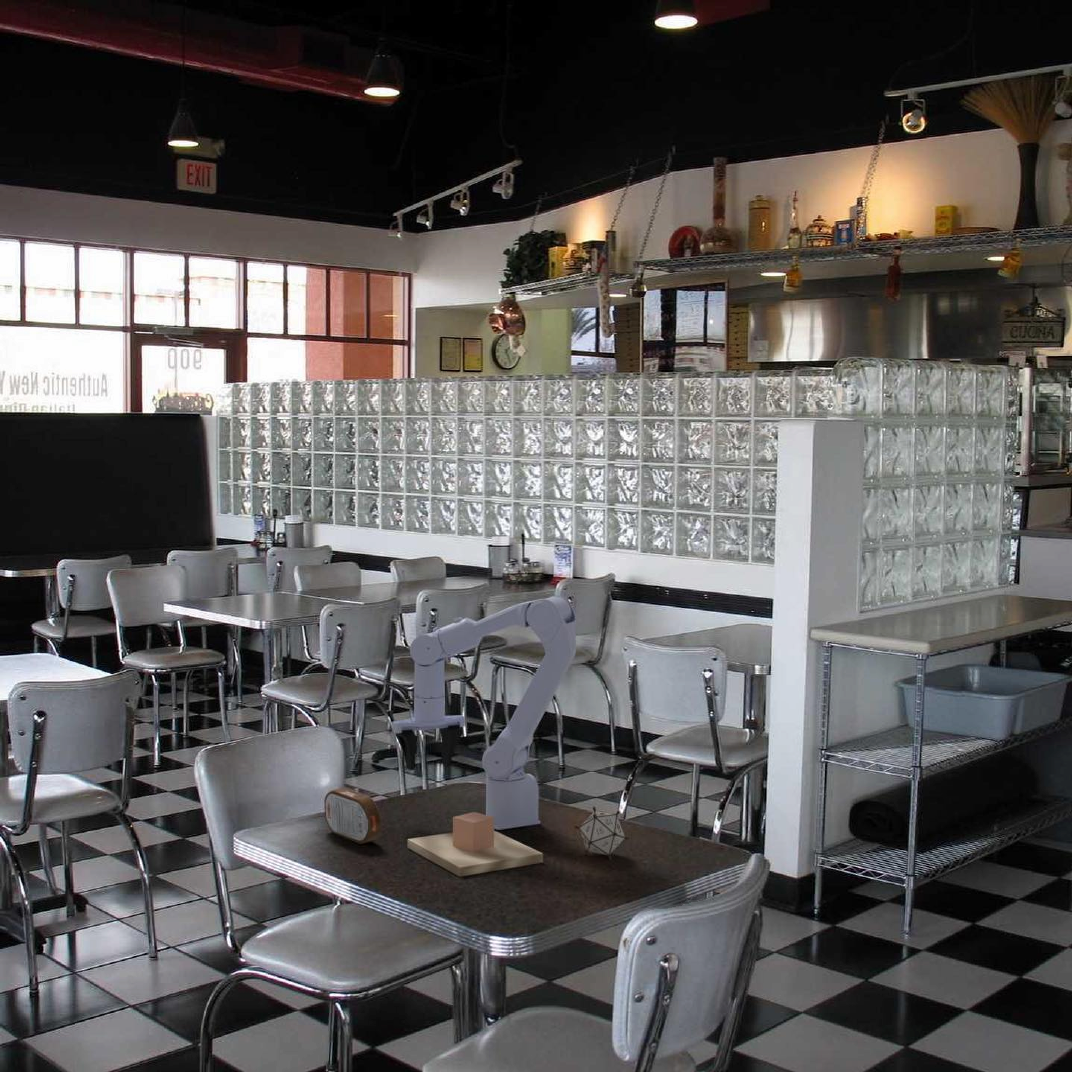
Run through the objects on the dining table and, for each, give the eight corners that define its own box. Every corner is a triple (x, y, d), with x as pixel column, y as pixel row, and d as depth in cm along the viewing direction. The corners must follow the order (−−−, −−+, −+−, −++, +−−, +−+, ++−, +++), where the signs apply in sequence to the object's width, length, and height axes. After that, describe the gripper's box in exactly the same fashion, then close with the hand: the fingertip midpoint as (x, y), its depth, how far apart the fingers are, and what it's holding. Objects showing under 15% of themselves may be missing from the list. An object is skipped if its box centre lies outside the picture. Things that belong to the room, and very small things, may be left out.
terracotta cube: (473, 840, 228) (473, 811, 228) (493, 846, 225) (494, 817, 225) (452, 845, 225) (452, 817, 224) (473, 851, 221) (473, 822, 221)
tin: (382, 846, 230) (383, 798, 229) (367, 849, 228) (368, 801, 227) (335, 828, 241) (335, 782, 240) (320, 831, 239) (321, 785, 238)
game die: (591, 874, 227) (574, 820, 232) (638, 858, 226) (620, 804, 231) (582, 862, 219) (565, 807, 224) (630, 845, 219) (612, 790, 224)
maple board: (487, 835, 237) (487, 827, 237) (542, 862, 221) (543, 853, 221) (407, 847, 228) (407, 839, 228) (459, 876, 212) (459, 867, 212)
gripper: (453, 690, 256) (452, 759, 257) (385, 696, 249) (385, 766, 249) (470, 695, 250) (469, 766, 251) (401, 701, 243) (401, 774, 243)
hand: (428, 767), depth 250 cm, fingers open, 7 cm apart
